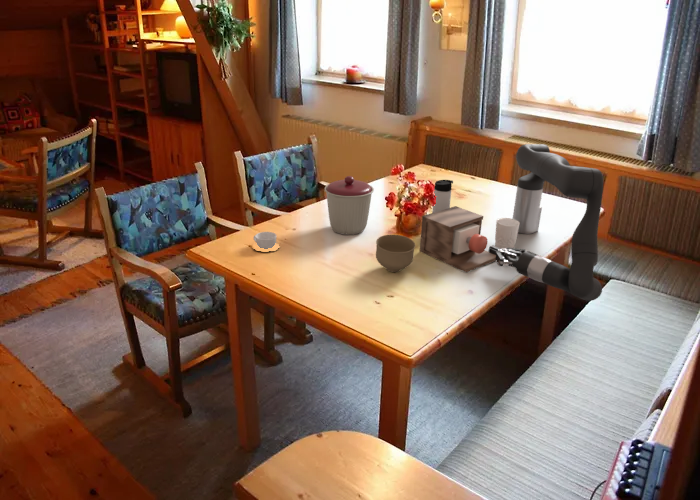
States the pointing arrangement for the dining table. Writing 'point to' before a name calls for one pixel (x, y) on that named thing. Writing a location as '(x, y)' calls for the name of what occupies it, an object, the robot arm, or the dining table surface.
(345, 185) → the canister
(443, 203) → the travel mug
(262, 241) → the teacup
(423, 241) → the cabinet
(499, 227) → the white cup
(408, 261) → the bowl
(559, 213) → the dining table surface
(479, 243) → the drawer with red knob
